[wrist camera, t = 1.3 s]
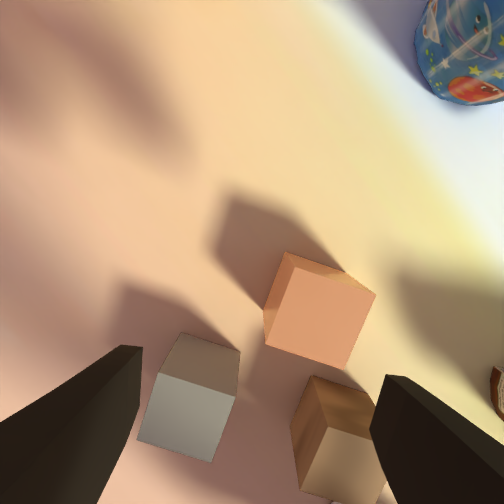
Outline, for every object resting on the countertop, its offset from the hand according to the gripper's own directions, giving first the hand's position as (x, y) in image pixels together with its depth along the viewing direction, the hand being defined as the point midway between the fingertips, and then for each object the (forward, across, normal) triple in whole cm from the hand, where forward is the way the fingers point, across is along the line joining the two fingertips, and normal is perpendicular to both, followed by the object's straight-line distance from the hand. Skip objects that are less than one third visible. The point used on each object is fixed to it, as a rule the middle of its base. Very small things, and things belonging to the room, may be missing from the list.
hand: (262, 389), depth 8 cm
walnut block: (+10, -7, +10) cm, 16 cm away
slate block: (+11, +3, +8) cm, 14 cm away
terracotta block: (+11, -4, +1) cm, 12 cm away
